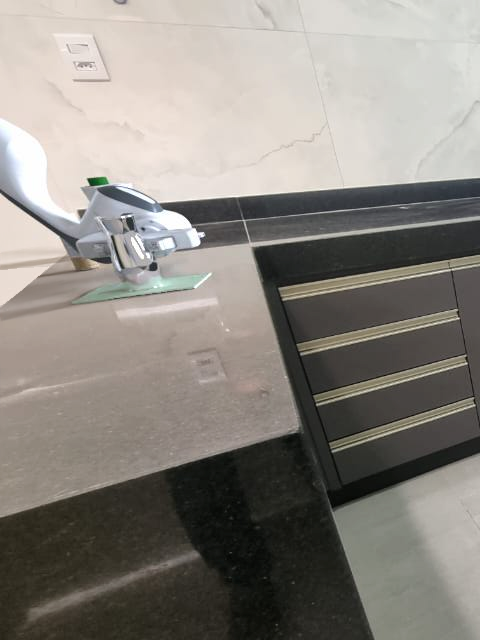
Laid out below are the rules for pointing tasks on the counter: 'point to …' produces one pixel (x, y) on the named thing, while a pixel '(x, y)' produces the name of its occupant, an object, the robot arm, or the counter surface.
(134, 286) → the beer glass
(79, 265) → the sprinkles bottle
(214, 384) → the counter surface
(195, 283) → the drying mat
